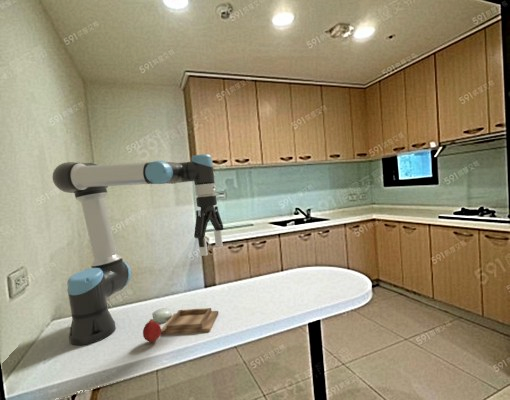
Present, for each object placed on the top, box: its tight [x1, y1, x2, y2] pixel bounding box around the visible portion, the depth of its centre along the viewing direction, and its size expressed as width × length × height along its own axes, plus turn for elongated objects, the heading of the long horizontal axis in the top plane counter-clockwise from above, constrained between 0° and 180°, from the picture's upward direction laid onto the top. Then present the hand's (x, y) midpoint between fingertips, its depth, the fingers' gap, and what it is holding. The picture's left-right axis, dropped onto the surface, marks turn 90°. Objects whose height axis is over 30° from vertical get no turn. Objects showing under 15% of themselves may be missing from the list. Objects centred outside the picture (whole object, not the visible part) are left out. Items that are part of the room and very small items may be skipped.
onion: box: [142, 318, 162, 344], centre depth 102 cm, size 6×6×8 cm
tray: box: [161, 307, 219, 335], centre depth 113 cm, size 18×14×3 cm
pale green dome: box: [152, 307, 173, 325], centre depth 119 cm, size 7×7×3 cm
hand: (212, 250), depth 116 cm, fingers open, 13 cm apart
